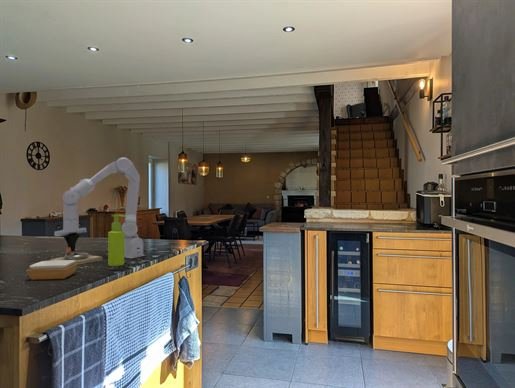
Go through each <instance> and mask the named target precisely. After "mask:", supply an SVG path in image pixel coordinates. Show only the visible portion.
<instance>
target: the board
mask: <svg viewBox="0 0 515 388" xmlns="http://www.w3.org/2000/svg"><path fill="white" fill-rule="evenodd" d="M55 260H75V263H78V265H82V264H87V263H92V262H93V263H94V262H96V261H97V262H98V261H103V256H100V255H92V254H91V255H90V254H89V257H87V258H83V259H65V258H64V256H63V257H62V256H61V257H57V258H51V259H50V260H49V261H55Z"/></svg>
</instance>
